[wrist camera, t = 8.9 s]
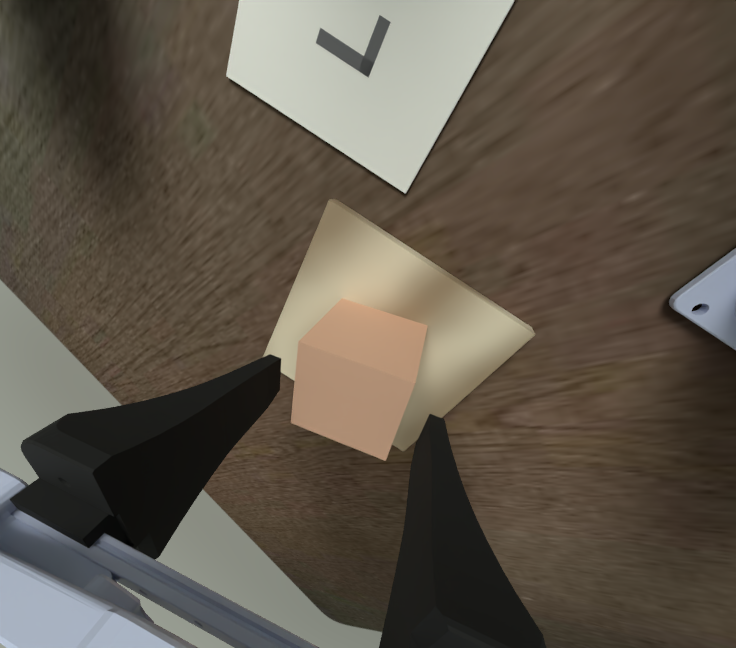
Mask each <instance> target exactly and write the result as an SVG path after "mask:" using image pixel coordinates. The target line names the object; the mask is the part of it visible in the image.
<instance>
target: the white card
mask: <svg viewBox="0 0 736 648" xmlns="http://www.w3.org/2000/svg"><path fill="white" fill-rule="evenodd" d="M514 1H515V0H239V5H238V11H237V17H236V23H235V28H234V34H233V40H232V45H231V51H230V57H229V63H228V68H227V74H226V76H227V77H228V78H230V79H231V80H233V81H235V82H236V83H238V84H239V85H241V86H242V87H244V88H245V89H247V90H248V91H250V92H251V93H253V94H254V95H256V96H257V97H259V98H260V99H262V100H263V101H265V102H267V103H268V104H270V105H271V106H273V107H274V108H276V109H277V110H279V111H280V112H282V113H283V114H285V115H286V116H288V117H289V118H291V119H292V120H294V121H295V122H297V123H299V124H300V125H302V126H303V127H305V128H306V129H308V130H309V131H311V132H312V133H314V134H315V135H317V136H318V137H320V138H321V139H323V140H324V141H326V142H327V143H329V144H330V145H332V146H334V147H335V148H337V149H338V150H340V151H341V152H343V153H344V154H346V155H347V156H349V157H350V158H352V159H353V160H355V161H356V162H358V163H359V164H361V165H362V166H364V167H366V168H367V169H369V170H370V171H372V172H373V173H375V174H376V175H378V176H379V177H381V178H382V179H384V180H385V181H387V182H388V183H390V184H391V185H393V186H394V187H396V188H397V189H399V190H401V191H402V192H404V193H405V194H406V193H407V191H408V189H409V187H410V185H411V184H412V182H413V180H414V178H415V177H416V175H417V173H418V171H419V170H420V168H421V166H422V164H423V162H424V161H425V159H426V157H427V155H428V154H429V152H430V150H431V148H432V147H433V145H434V143H435V141H436V139H437V138H438V136H439V134H440V132H441V131H442V129H443V127H444V125H445V124H446V122H447V120H448V118H449V116H450V115H451V113H452V111H453V109H454V108H455V106H456V104H457V102H458V100H459V99H460V97H461V95H462V93H463V92H464V90H465V88H466V86H467V85H468V83H469V81H470V79H471V77H472V76H473V74H474V72H475V70H476V69H477V67H478V65H479V63H480V62H481V60H482V58H483V56H484V54H485V53H486V51H487V49H488V47H489V46H490V44H491V42H492V40H493V39H494V37H495V35H496V33H497V31H498V30H499V28H500V26H501V24H502V23H503V21H504V19H505V17H506V16H507V14H508V12H509V10H510V8H511V7H512V5H513V3H514Z"/></svg>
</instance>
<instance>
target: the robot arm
mask: <svg viewBox="0 0 736 648" xmlns="http://www.w3.org/2000/svg"><path fill="white" fill-rule="evenodd" d="M698 304H702V306H701V307H700V308H699V309H698V310H696V311H692V308H693V307H694V306H696V305H698ZM669 305H670V307H671V308H672V309H674V310H675V311H677V312H678V313H680V314H681V315H683V316H684V317H686V318H687V319H689V320H690V321H692V322H693V323H695V324H697V325H698V326H700V327H701V328H703V329H704V330H706V331H707V332H709V333H710V334H712V335H713V336H715V337H716V338H718V339H719V340H721V341H722V342H724V343H725V344H727V345H728V346H730V347H731V348H733V349H735V350H736V248H735V249H734V250H732V251H731V252H730V253H728V254H727V255H726V256H724V257H723V258H721V259H720V260H719V261H717V262H716V263H715V264H713V265H712V266H711V267H709V268H708V269H707V270H705V271H704V272H703V273H701V274H700V275H699V276H697V277H696V278H694V279H693V280H692V281H690V282H689V283H688V284H686V285H685V286H684V287H682V288H681V289H680V290H678V291H677V292H676V293H674V294H673V295H672V296H671V298H670V300H669ZM280 374H281V358H279V357H276V356H274V355H271V354H269V355H267V356H265V357H263V358H260V359H258V360H256V361H254V362H252V363H250V364H247V365H245V366H243V367H241V368H239V369H236V370H234V371H232V372H230V373H227V374H225V375H223V376H220V377H218V378H215V379H213V380H210V381H208V382H205V383H203V384H200V385H197V386H194V387H191V388H188V389H185V390H182V391H179V392H175V393H172V394H168V395H165V396H161V397H157V398H153V399H149V400H145V401H141V402H136V403H132V404H127V405H122V406H117V407H111V408H106V409H100V410H92V411H85V412H79V413H71V414H67V415H65V416H63V417H62V418H60V419H59V420H57V421H55V422H53V423H52V424H50V425H48V426H47V427H45V428H43V429H42V430H40V431H38V432H37V433H35V434H33V435H31V436H30V437H28V438H26V439H25V440H23V442H22V444H21V450H22V452H23V454H24V456H25V458H26V459H27V460H28V462H29V463H30V465H31V466H32V468H33V469H34V471H35V472H36V474H37V475H38V477H39V479H37V480H36V481H34V482H33V483H32V484H30V485H28V484H27V483H26V482H24V481H23V480H21V479H20V478H18V477H16V476H14V475H12V474H11V473H9V472H7V471H5V470H3V469H1V468H0V643H1V644H2V645H4V646H5V647H7V648H197V647H196V646H194V645H192V644H190V643H189V642H187V641H185V640H183V639H182V638H180V637H178V636H176V635H175V634H173V633H171V632H169V631H167V630H165V629H163V628H162V627H160V626H158V625H156V624H154V622H153V621H152V619H151V618H150V617H149V616H148V615H147V614H146V613H145V611H144V610H143V608H142V607H141V605H140V600H139V599H138V598H137V597H135V596H134V595H133V594H131V593H130V592H129V591H127V590H126V589H125V588H123V587H122V586H121V585H119V584H118V583H117V582H119V583H121V584H123V585H124V586H126V587H128V588H130V589H131V590H133V591H135V592H137V593H139V594H140V595H142V596H144V597H146V598H148V599H149V600H151V601H153V602H155V603H157V604H158V605H160V606H162V607H163V608H165V609H167V610H169V611H171V612H172V613H174V614H176V615H178V616H179V617H181V618H183V619H185V620H187V621H188V622H190V623H192V624H194V625H195V626H197V627H199V628H201V629H203V630H204V631H206V632H208V633H210V634H212V635H213V636H215V637H217V638H219V639H220V640H222V641H224V642H226V643H227V644H229V645H231V646H233V647H235V648H319V647H317V646H315V645H313V644H311V643H309V642H308V641H305V640H303V639H302V638H300V637H298V636H296V635H294V634H293V633H291V632H289V631H287V630H285V629H283V628H281V627H279V626H278V625H276V624H274V623H272V622H270V621H268V620H266V619H265V618H263V617H261V616H259V615H257V614H255V613H253V612H251V611H250V610H247V609H246V608H244V607H242V606H240V605H238V604H237V603H235V602H233V601H231V600H229V599H227V598H225V597H223V596H221V595H220V594H218V593H216V592H214V591H212V590H210V589H208V588H207V587H205V586H203V585H201V584H199V583H197V582H195V581H193V580H192V579H190V578H188V577H186V576H184V575H182V574H180V573H179V572H177V571H175V570H173V569H171V568H169V567H167V566H165V565H164V564H162V563H160V562H158V561H156V560H155V559H156V558H158V557H159V556H160V555H161V553H162V551H163V550H164V548H165V546H166V545H167V543H168V541H169V540H170V538H171V537H172V535H173V533H174V532H175V530H176V529H177V527H178V525H179V524H180V522H181V521H182V519H183V517H184V516H185V515H186V513H187V512H188V510H189V509H190V507H191V505H192V504H193V502H194V501H195V499H196V498H197V496H198V495H199V493H200V492H201V491H202V489H203V488H204V486H205V485H206V483H207V482H208V480H209V479H210V478H211V476H212V475H213V473H214V472H215V471H216V469H217V468H218V466H219V465H220V464H221V462H222V461H223V460H224V458H225V457H226V455H227V454H228V453H229V452H230V450H231V449H232V448H233V447H234V446H235V444H236V443H237V442H238V441H239V440H240V439H241V438H242V436H243V435H244V434H245V433H246V432H247V431H248V430H249V429H250V427H251V426H252V425H253V424H254V423H255V422H256V421H257V419H258V418H259V417H260V416H261V415H262V414H263V413H264V411H265V410H266V409H267V408H268V406H269V405H270V403H271V402H272V401H273V399H274V398H275V396H276V395H277V393H278V392H279V390H280ZM379 648H546V645H545V642H544V638H543V634H542V633H541V631H540V630H539V628H538V627H537V625H536V624H535V622H534V620H533V619H532V617H531V616H530V614H529V613H528V611H527V610H526V608H525V606H524V605H523V603H522V602H521V600H520V599H519V597H518V595H517V594H516V592H515V590H514V589H513V587H512V585H511V584H510V582H509V580H508V578H507V577H506V575H505V573H504V571H503V570H502V568H501V566H500V564H499V562H498V560H497V558H496V557H495V555H494V553H493V551H492V549H491V547H490V545H489V543H488V541H487V540H486V538H485V536H484V533H483V531H482V529H481V527H480V525H479V523H478V521H477V519H476V516H475V514H474V512H473V509H472V507H471V505H470V502H469V500H468V497H467V495H466V492H465V490H464V487H463V484H462V481H461V479H460V476H459V473H458V470H457V466H456V463H455V460H454V457H453V453H452V450H451V446H450V442H449V438H448V434H447V429H446V424H445V421H444V419H443V418H440V417H437V416H435V415H432V414H429V416H428V418H427V421H426V423H425V425H424V427H423V429H422V431H421V434H420V436H419V438H418V440H417V442H416V446H415V450H414V455H413V459H412V464H411V471H410V479H409V489H408V498H407V507H406V517H405V525H404V532H403V537H402V542H401V547H400V552H399V557H398V562H397V567H396V572H395V577H394V582H393V587H392V591H391V596H390V601H389V605H388V610H387V614H386V619H385V624H384V628H383V632H382V637H381V641H380V646H379Z"/></svg>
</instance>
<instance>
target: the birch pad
mask: <svg viewBox="0 0 736 648" xmlns="http://www.w3.org/2000/svg"><path fill="white" fill-rule="evenodd" d="M342 298H343V299H346V300H349V301H352V302H355V303H359V304H362V305H365V306H368V307H371V308H374V309H377V310H381V311H384V312H387V313H390V314H393V315H396V316H399V317H402V318H406V319H409V320H412V321H415V322H418V323H421V324H424V325H427V326H428V327H427V332H426V336H425V341H424V346H423V350H422V355H421V360H420V364H419V369H418V374H417V378H416V383H415V386H414V388H413V391H412V393H411V396H410V399H409V401H408V404H407V406H406V409H405V412H404V414H403V417H402V419H401V422H400V425H399V427H398V430H397V432H396V435H395V438H394V440H393V443H392V445H394V446H396V447H397V448H399V449H400V450H402V451H403V452H404V451H405V450H406V449H407V448H408V447H409V446H411V445H412V444H413V443H414V442H415V441H416V440H417V439H418V438H419V436H420V434H421V431H422V429H423V427H424V425H425V423H426V421H427V418H428V416H429V414H432V415H435V416H437V417H440V418H442V417H443V416H444V415H445V414H447V413H448V412H449V411H450V410H451V409H452V408H453V407H454V406H456V405H457V404H458V403H459V402H460V401H461V400H462V399H463V398H465V397H466V396H467V395H468V394H469V393H470V392H471V391H472V390H474V389H475V388H476V387H477V386H478V385H479V384H480V383H481V382H483V381H484V380H485V379H486V378H487V377H488V376H489V375H490V374H491V373H493V372H494V371H495V370H496V369H497V368H498V367H499V366H500V365H502V364H503V363H504V362H505V361H506V360H507V359H508V358H509V357H511V356H512V355H513V354H514V353H515V352H516V351H517V350H518V349H520V348H521V347H522V346H523V345H524V344H525V343H526V342H527V341H529V340H530V339H531V338H532V337H533V336H534V335H535V333H534V331H533V329H532V327H530V326H529V325H527V324H526V323H524V322H523V321H521V320H520V319H518V318H517V317H515V316H514V315H512V314H511V313H509V312H508V311H506V310H505V309H503V308H501V307H500V306H498V305H497V304H495V303H494V302H492V301H491V300H489V299H488V298H486V297H485V296H483V295H482V294H480V293H479V292H477V291H476V290H474V289H472V288H471V287H469V286H468V285H466V284H465V283H463V282H462V281H460V280H459V279H457V278H456V277H454V276H453V275H451V274H450V273H448V272H447V271H445V270H443V269H442V268H440V267H439V266H437V265H436V264H434V263H433V262H431V261H430V260H428V259H427V258H425V257H424V256H422V255H421V254H419V253H418V252H416V251H414V250H413V249H411V248H410V247H408V246H407V245H405V244H404V243H402V242H401V241H399V240H398V239H396V238H395V237H393V236H392V235H390V234H389V233H387V232H385V231H384V230H382V229H381V228H379V227H378V226H376V225H375V224H373V223H372V222H370V221H369V220H367V219H366V218H364V217H363V216H361V215H360V214H358V213H356V212H355V211H353V210H352V209H350V208H349V207H347V206H346V205H344V204H343V203H341V202H340V201H338V200H337V199H330V200H329V202H328V204H327V206H326V209H325V211H324V213H323V216H322V218H321V221H320V223H319V225H318V228H317V230H316V232H315V235H314V237H313V240H312V242H311V244H310V247H309V249H308V251H307V254H306V256H305V259H304V261H303V263H302V266H301V268H300V270H299V273H298V275H297V278H296V280H295V282H294V285H293V287H292V289H291V292H290V294H289V297H288V299H287V301H286V304H285V306H284V308H283V311H282V313H281V316H280V318H279V320H278V323H277V325H276V327H275V330H274V332H273V335H272V337H271V339H270V342H269V344H268V347H267V349H266V351H265V354H264V356H263V357H265V356H267V355H269V354H271V355H274V356H276V357H279V358H281V372H282V373H283V374H285V375H286V376H288V377H289V378H291V379H292V380H294V381H295V372H296V361H297V351H298V341H299V340H300V339H301V338H302V337H303V336H304V335H306V334H307V333H308V332H309V331H310V330H311V329H312V328H313V327H314V326H315V325H316V324H317V323H318V322H319V321H320V320H321V319H322V318H323V317H324V316H325V315H326V314H327V313H328V312H329V311H330V310H331V309H332V308H333V307H334V306H335V305H336V304H337V303H338V302H339V301H340V300H341V299H342Z"/></svg>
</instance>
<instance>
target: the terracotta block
mask: <svg viewBox="0 0 736 648" xmlns="http://www.w3.org/2000/svg"><path fill="white" fill-rule="evenodd" d="M427 327H428V326H427V325H424V324H421V323H418V322H415V321H412V320H409V319H406V318H402V317H399V316H396V315H393V314H390V313H387V312H384V311H381V310H377V309H374V308H371V307H368V306H365V305H362V304H359V303H355V302H352V301H349V300H346V299H343V298H342V299H341V300H340V301H339V302H338V303H337V304H336V305H335V306H334V307H333V308H332V309H331V310H330V311H329V312H328V313H327V314H326V315H325V316H324V317H323V318H322V319H321V320H320V321H319V322H318V323H317V324H316V325H315V326H314V327H313V328H312V329H311V330H310V331H309V332H308V333H307V334H306V335H304V336H303V337H302V338H301V339H300V340H299V341H298V351H297V361H296V372H295V383H294V394H293V404H292V415H291V423H292V424H295V425H297V426H300V427H302V428H305V429H307V430H310V431H312V432H315V433H317V434H320V435H322V436H325V437H327V438H330V439H332V440H335V441H337V442H340V443H342V444H345V445H347V446H350V447H352V448H355V449H357V450H360V451H362V452H364V453H367V454H369V455H372V456H374V457H377V458H379V459H382V460H384V461H386V458H387V456H388V453H389V451H390V448H391V445H392V443H393V440H394V438H395V435H396V432H397V430H398V427H399V425H400V422H401V419H402V417H403V414H404V412H405V409H406V406H407V404H408V401H409V399H410V396H411V393H412V391H413V388H414V386H415V383H416V378H417V374H418V369H419V364H420V360H421V355H422V350H423V346H424V341H425V336H426V332H427Z"/></svg>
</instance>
